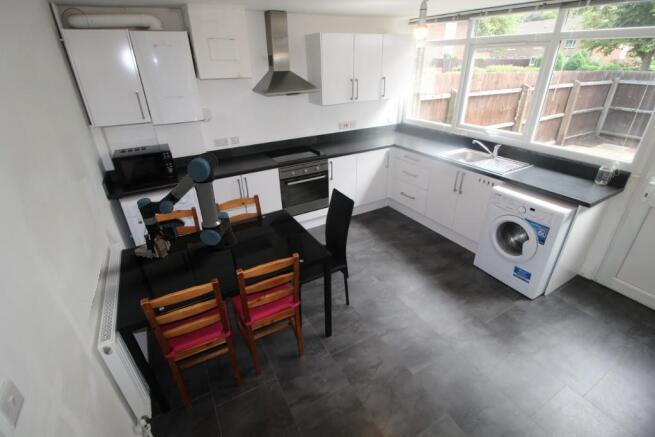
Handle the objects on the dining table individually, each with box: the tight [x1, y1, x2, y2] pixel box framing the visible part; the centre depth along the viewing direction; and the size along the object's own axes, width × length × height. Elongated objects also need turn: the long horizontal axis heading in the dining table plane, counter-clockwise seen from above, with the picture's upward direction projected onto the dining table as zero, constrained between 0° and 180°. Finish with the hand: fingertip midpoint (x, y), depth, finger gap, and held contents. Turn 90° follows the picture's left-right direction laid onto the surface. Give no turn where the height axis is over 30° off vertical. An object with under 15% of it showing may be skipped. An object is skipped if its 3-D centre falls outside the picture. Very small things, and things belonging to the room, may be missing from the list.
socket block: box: [133, 238, 171, 260], centre depth 215 cm, size 14×16×4 cm
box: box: [162, 222, 180, 241], centre depth 227 cm, size 8×6×11 cm
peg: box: [154, 238, 169, 259], centre depth 206 cm, size 4×4×12 cm
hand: (162, 253), depth 208 cm, fingers open, 8 cm apart
